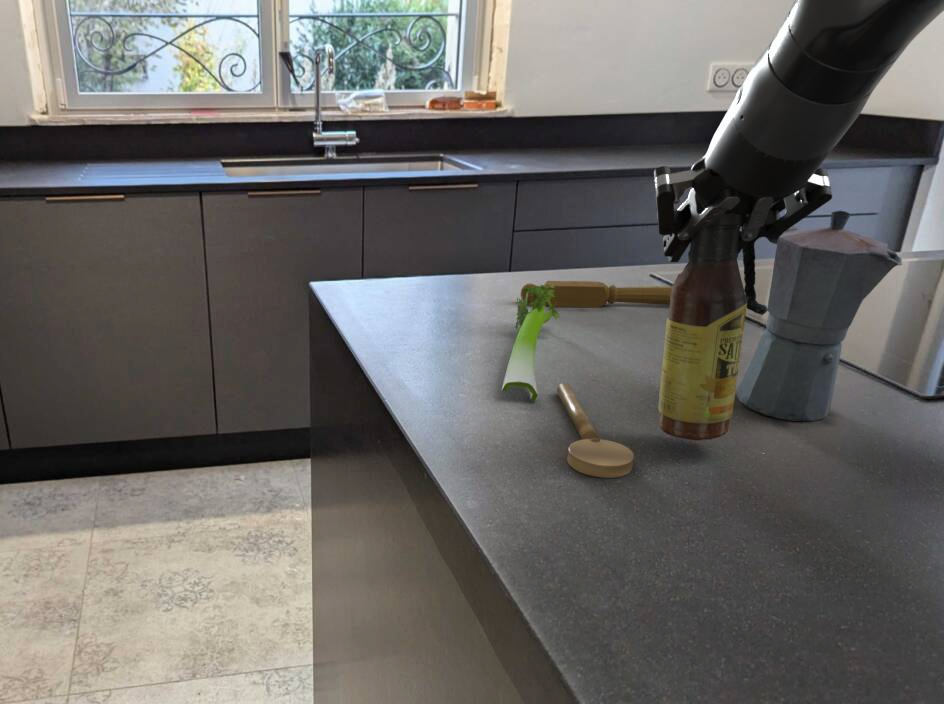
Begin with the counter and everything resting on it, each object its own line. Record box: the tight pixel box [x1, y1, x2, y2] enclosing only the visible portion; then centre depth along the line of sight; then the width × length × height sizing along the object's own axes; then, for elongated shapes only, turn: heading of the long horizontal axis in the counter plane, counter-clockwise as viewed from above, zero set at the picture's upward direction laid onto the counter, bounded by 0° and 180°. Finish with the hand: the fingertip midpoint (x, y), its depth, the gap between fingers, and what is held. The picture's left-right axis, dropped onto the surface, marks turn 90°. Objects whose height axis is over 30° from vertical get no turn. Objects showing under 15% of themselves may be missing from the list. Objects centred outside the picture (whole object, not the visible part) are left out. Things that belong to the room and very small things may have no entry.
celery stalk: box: [501, 284, 561, 404], centre depth 99 cm, size 6×7×30 cm
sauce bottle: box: [658, 213, 747, 441], centre depth 72 cm, size 7×6×20 cm
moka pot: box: [735, 210, 903, 422], centre depth 82 cm, size 10×15×20 cm, turn 36°
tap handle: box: [520, 280, 672, 308], centre depth 121 cm, size 3×3×30 cm
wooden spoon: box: [556, 382, 635, 479], centre depth 80 cm, size 20×6×1 cm, turn 178°
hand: (696, 253), depth 73 cm, fingers closed on sauce bottle, 3 cm apart
